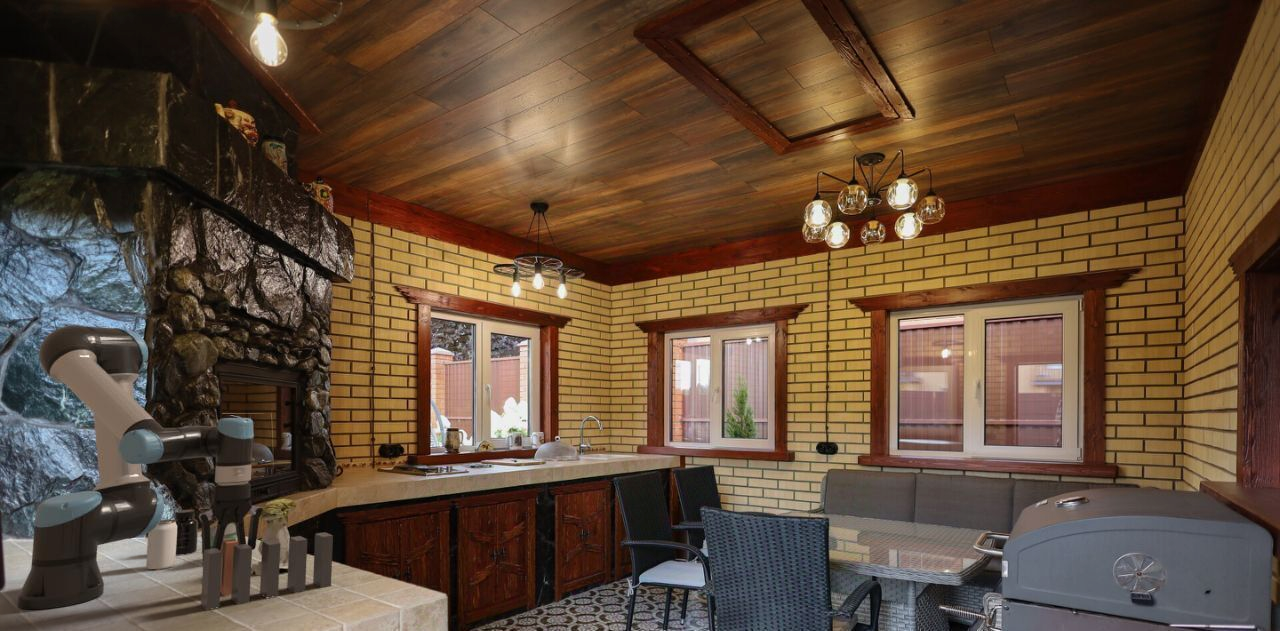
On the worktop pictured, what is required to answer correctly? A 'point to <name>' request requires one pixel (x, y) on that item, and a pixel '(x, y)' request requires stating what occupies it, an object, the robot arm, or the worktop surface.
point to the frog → (276, 529)
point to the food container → (229, 533)
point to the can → (162, 545)
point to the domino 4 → (270, 568)
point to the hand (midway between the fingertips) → (227, 583)
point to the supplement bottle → (186, 531)
